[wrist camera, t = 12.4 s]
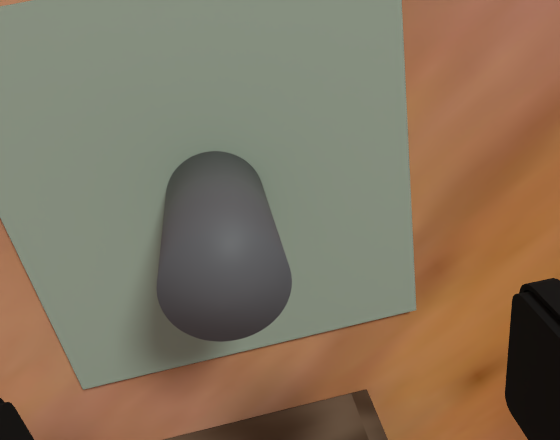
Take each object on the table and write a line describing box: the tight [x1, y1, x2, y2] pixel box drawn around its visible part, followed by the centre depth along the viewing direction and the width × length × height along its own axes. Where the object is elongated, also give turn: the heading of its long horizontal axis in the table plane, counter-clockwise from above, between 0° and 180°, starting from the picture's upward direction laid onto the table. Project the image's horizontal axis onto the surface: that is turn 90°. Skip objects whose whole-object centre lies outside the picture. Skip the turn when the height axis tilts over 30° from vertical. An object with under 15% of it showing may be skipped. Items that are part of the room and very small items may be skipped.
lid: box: [0, 0, 416, 389], centre depth 17 cm, size 15×15×7 cm
